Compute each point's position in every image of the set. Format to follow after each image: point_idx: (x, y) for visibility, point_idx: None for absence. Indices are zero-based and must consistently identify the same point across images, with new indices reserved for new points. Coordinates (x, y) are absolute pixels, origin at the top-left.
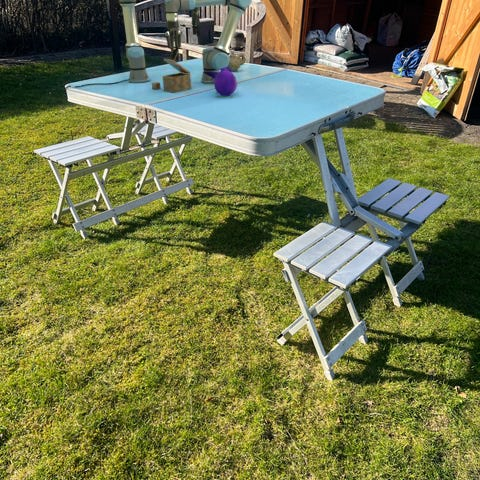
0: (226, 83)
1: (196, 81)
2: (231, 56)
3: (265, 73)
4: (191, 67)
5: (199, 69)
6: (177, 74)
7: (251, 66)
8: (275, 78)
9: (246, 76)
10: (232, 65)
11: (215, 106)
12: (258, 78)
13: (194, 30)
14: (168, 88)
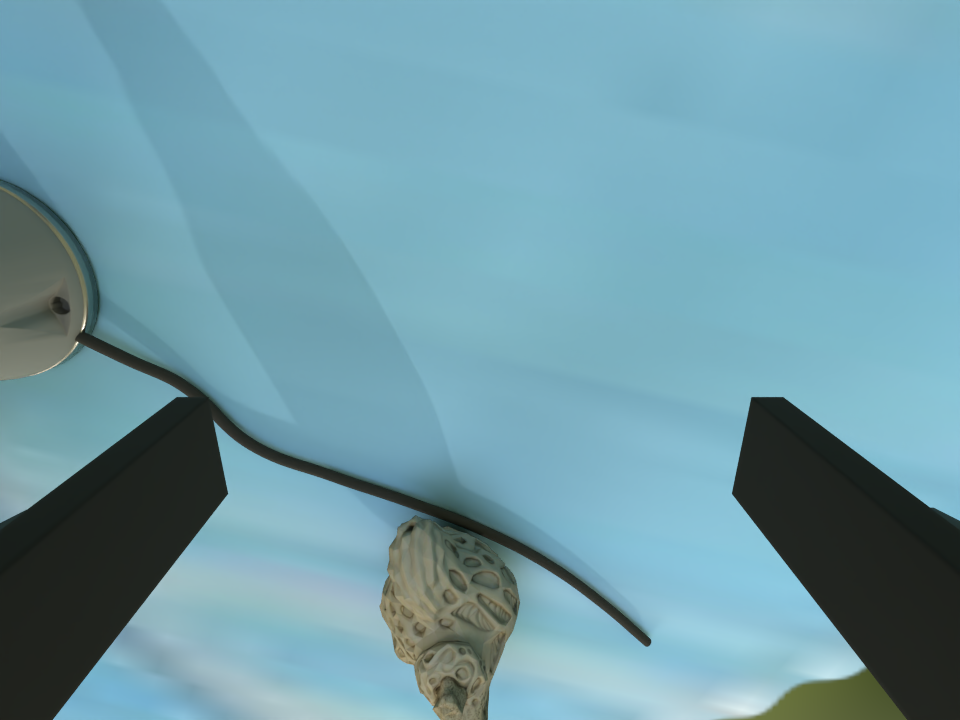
0: None
1: (28, 129)
2: (424, 655)
3: (282, 713)
4: (871, 261)
5: (699, 315)
6: None
7: (603, 713)
8: (80, 713)
9: (196, 585)
10: (385, 585)
11: None
12: None
13: (815, 526)
14: None
